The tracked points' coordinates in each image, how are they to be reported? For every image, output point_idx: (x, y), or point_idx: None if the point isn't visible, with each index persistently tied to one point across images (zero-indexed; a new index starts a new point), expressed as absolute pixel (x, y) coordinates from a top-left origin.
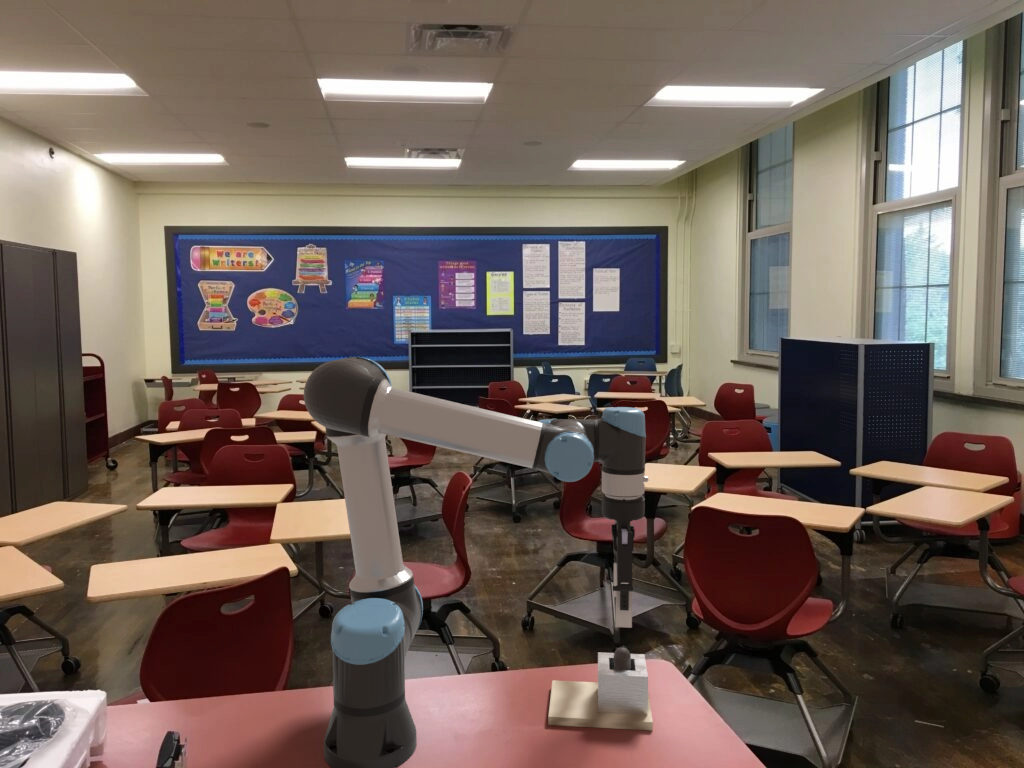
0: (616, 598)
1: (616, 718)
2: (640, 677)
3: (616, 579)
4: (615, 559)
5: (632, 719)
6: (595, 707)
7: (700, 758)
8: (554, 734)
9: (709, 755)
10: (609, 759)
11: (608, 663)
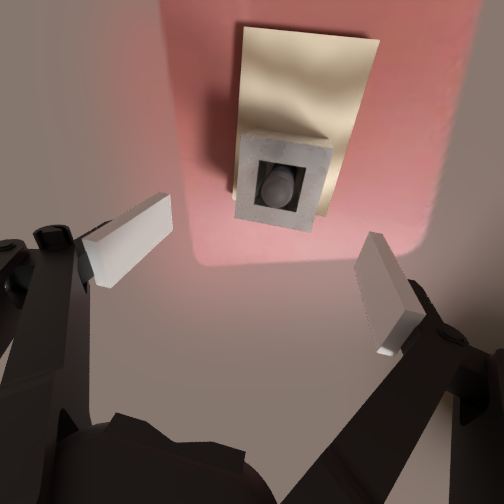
0: (105, 225)
1: (239, 153)
2: (235, 206)
3: (380, 272)
4: (424, 331)
5: (237, 175)
6: (269, 125)
7: (191, 229)
8: (224, 43)
9: (197, 238)
10: (176, 129)
11: (282, 162)
